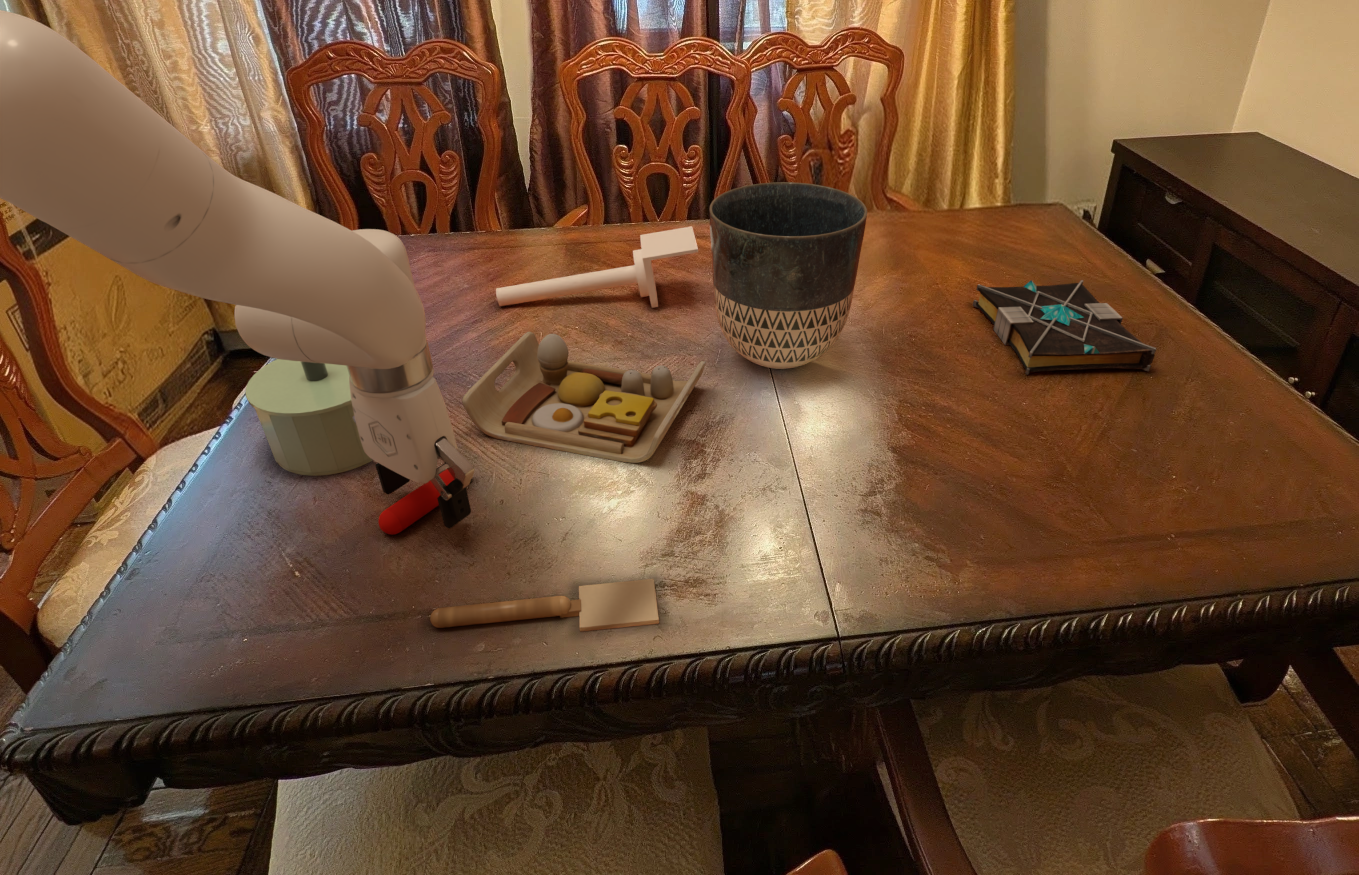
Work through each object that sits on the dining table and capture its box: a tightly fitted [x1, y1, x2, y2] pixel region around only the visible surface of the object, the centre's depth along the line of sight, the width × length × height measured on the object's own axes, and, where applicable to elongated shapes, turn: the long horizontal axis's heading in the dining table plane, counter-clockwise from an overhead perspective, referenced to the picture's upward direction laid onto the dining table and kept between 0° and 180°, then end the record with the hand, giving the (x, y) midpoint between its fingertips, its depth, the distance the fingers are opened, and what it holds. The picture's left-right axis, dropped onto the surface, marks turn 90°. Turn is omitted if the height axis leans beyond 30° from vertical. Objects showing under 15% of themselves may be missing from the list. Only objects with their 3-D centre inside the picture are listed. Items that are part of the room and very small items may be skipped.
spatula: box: [429, 578, 660, 633], centre depth 74 cm, size 21×5×2 cm, turn 97°
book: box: [972, 279, 1157, 375], centre depth 114 cm, size 22×17×5 cm
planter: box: [708, 181, 868, 370], centre depth 106 cm, size 20×20×21 cm
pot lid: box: [245, 358, 352, 417], centre depth 92 cm, size 15×15×5 cm
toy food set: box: [461, 331, 707, 464], centre depth 100 cm, size 25×18×8 cm
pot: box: [254, 404, 374, 477], centre depth 96 cm, size 15×15×8 cm
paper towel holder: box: [495, 225, 699, 309], centre depth 126 cm, size 9×9×32 cm
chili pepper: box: [378, 469, 454, 535], centre depth 87 cm, size 12×3×3 cm
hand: (426, 503), depth 85 cm, fingers open, 9 cm apart
